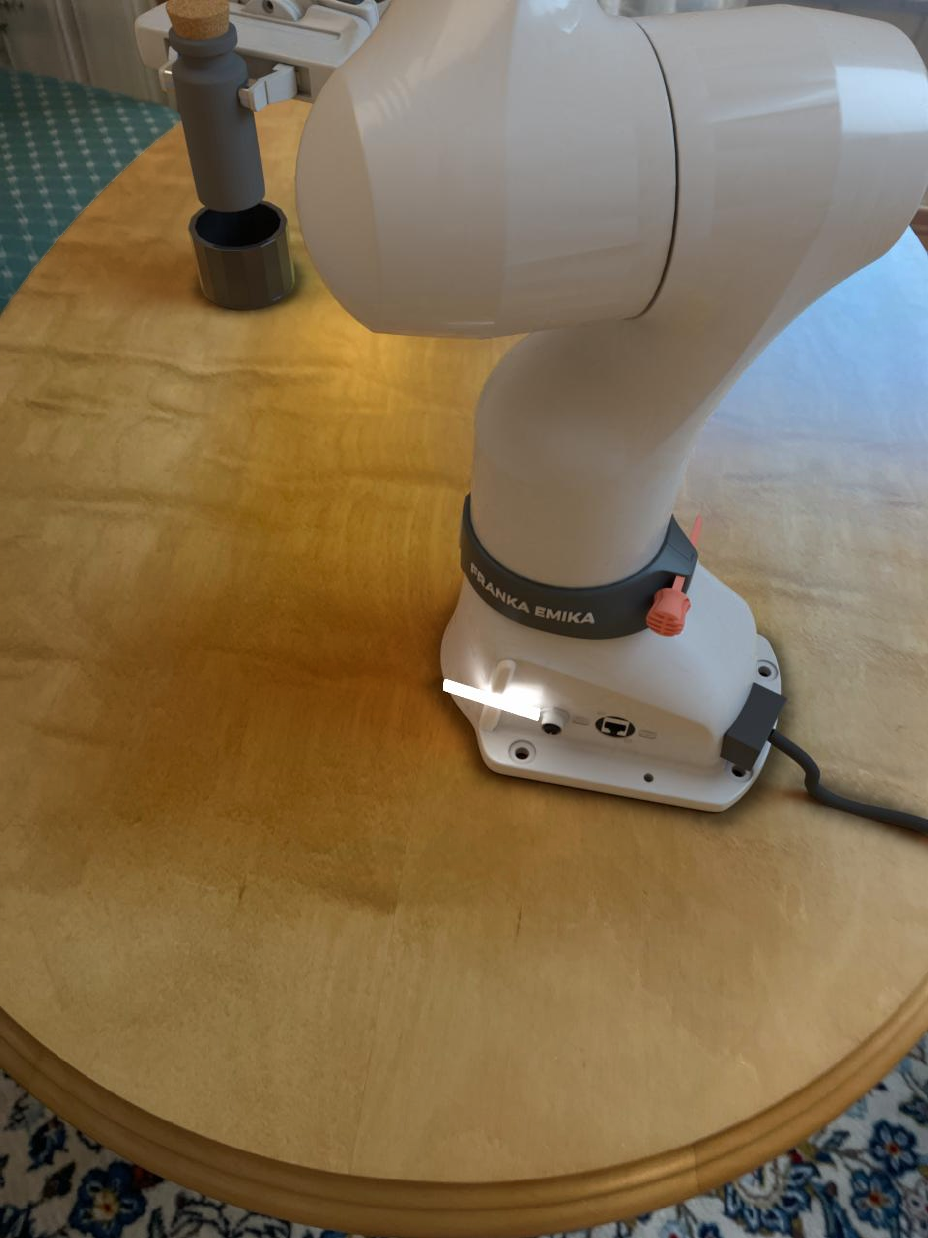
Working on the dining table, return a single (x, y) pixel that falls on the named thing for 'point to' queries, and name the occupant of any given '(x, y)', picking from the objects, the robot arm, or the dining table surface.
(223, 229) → the tube
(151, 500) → the dining table surface
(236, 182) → the bottle
